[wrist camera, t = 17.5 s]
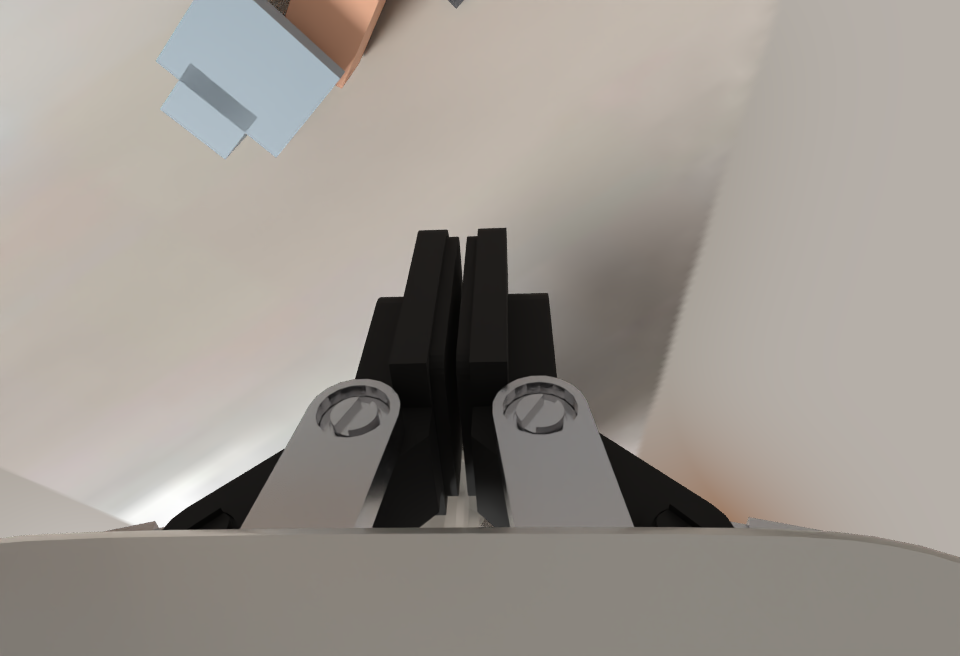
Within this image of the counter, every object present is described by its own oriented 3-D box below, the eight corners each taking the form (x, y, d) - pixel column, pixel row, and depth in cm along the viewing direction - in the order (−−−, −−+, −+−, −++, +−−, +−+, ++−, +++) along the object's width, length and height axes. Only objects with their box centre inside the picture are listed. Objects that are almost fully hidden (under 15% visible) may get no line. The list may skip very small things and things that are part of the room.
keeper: (366, 41, 30) (340, 78, 25) (292, 133, 32) (255, 182, 27) (265, -54, 27) (215, -34, 23) (195, 53, 30) (136, 91, 25)
